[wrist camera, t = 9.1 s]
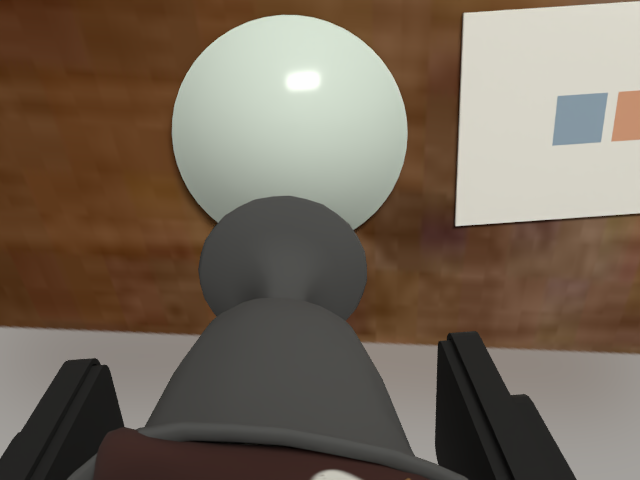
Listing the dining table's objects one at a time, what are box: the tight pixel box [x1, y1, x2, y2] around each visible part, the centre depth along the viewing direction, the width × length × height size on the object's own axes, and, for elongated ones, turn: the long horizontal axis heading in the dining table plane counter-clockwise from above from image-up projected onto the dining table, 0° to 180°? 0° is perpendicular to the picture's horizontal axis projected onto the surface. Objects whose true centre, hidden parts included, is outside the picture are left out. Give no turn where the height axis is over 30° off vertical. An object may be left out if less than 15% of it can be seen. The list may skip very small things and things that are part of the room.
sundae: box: [67, 196, 468, 480], centre depth 10 cm, size 7×7×15 cm
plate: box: [172, 15, 407, 230], centre depth 32 cm, size 13×13×1 cm
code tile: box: [455, 1, 640, 226], centre depth 32 cm, size 17×12×1 cm
